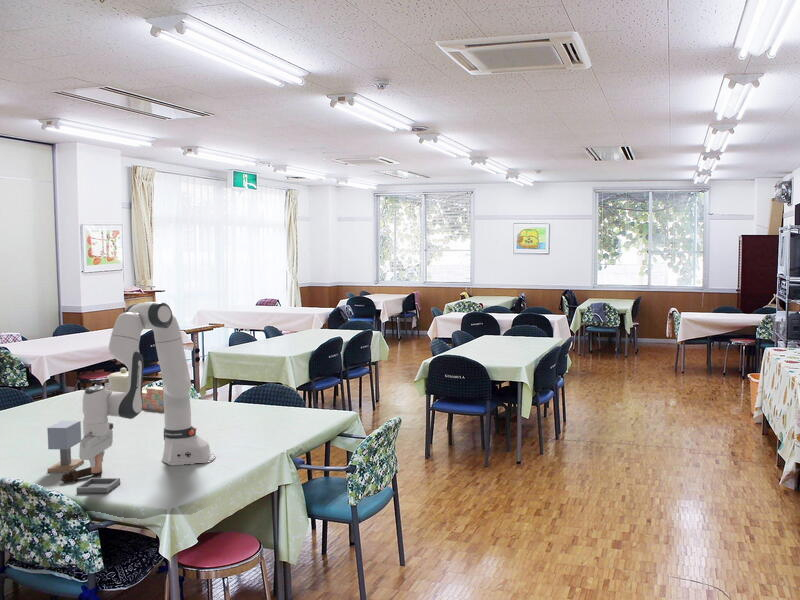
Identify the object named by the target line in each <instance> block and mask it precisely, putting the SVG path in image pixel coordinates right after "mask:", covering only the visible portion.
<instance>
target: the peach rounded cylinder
mask: <svg viewBox="0 0 800 600" xmlns="http://www.w3.org/2000/svg"><path fill="white" fill-rule="evenodd" d="M95 462H97V465H96V466H95V467H91V473H99V472H102V473H103V462H102V453H99V454H98V455H96V456H95Z"/></svg>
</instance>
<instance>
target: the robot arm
mask: <svg viewBox="0 0 800 600" xmlns="http://www.w3.org/2000/svg"><path fill="white" fill-rule="evenodd" d="M146 329H147V330H149V329H151V330H152V332H153V337H154V342H155V348H156V354H157V359H158V363H159V367H160V368H159V369H160V372H161V373H160V374H161V379H162V387H163V400H164V411H163V413H164V415H163V416H164V417H163V419H164V428H163V440H164V446H163V447H164V449H163V454H162V458H161V462H162V463H165V464H168V466H171V465H172V466H185V465H184V464H191V465H195V464H194V463H206V462H208V461H211V460H212V459H213V458H214V457H215V455H216V453H215V452H211V448H210V444H209V442H208V441H206V440H205V439H203V438H201V437H200V436H198V435H197V430H198V429H197V427H196V426H195V427H194V426H193V425H192V407H191V399H190V393H191V388H192V382H191V377H190V372H189V367H188V363H187V358H186V351H185V348H184V347H185V346H184V343H183V337H182V332H181V328H180V326H179V322H178V320H177V318H176V317H175V315H174V314H173V311H172V309H171V307H170V306H169V305H168V304H167V303H166V302H163V301H145V302H141V303H133V304H131V305H129V306H127V308H126V309H125V311H124V312H122V313H120V314H119V315H118V316H117V319H116V320H115V323H114V326H113V328H112V331H111V335H110V338H109V339H110V340H109V344H108V351H109V353H110V354H111V356H112V358H114V359H115V360H116V361H118V362H120V363H122V364H123V365H125V366H126V367H127V368H126V369H127V371H128V372H129V373H128V388H127V391H126V392H116V391H110V389H107V388H106V387H105V386H103V385H93V386H90V387H87V388H86V389H85V390H84V392H83V396H82V414H83V420H82V432H83V433H82V434H83V437H82V438H81V442H80V443H79V451H78V453H79V454H78V455H79V459H81V460H84V461H89V466H90V467H95V466H96V465H97V462H95V456H96V455H98V454H99V453H102V463H103V462H104V456H105V451H106V450H107V449H109V448H110V447H112V446H113V438H114V435H113V434H114V433H113V432H114V431H113V430H114V423H112V422H109V418H108V417H115V418H124V419H129V420H133V419H134V418H136V417H137V416H138V415H139V414H141V412H142V409H143V408H142V407H143V400H142V390H143V381H144V378H143V377H144V357H143V355H142V354H141V353H140V342H141V338H142V337H141V336H142V331H143V330H146ZM215 458H216V457H215ZM212 461H213V460H212ZM212 461H211V462H212ZM206 464H207V463H206Z"/></svg>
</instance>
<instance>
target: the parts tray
mask: <svg viewBox="0 0 800 600" xmlns="http://www.w3.org/2000/svg"><path fill="white" fill-rule="evenodd" d="M118 484H119V485H121V478H120V477H91V478H89V479H87V480H86V481H84V482H83V483H81V484H80V485H79V486H77V487H76V494H77V495H86V494H88V495H96V494H97V495H108V494H109V493H110V492H112V491H113V490H114V489H115V488H116V486H117V485H118ZM119 485H118V486H119ZM118 486H117V487H118ZM112 489H113V490H112Z"/></svg>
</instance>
